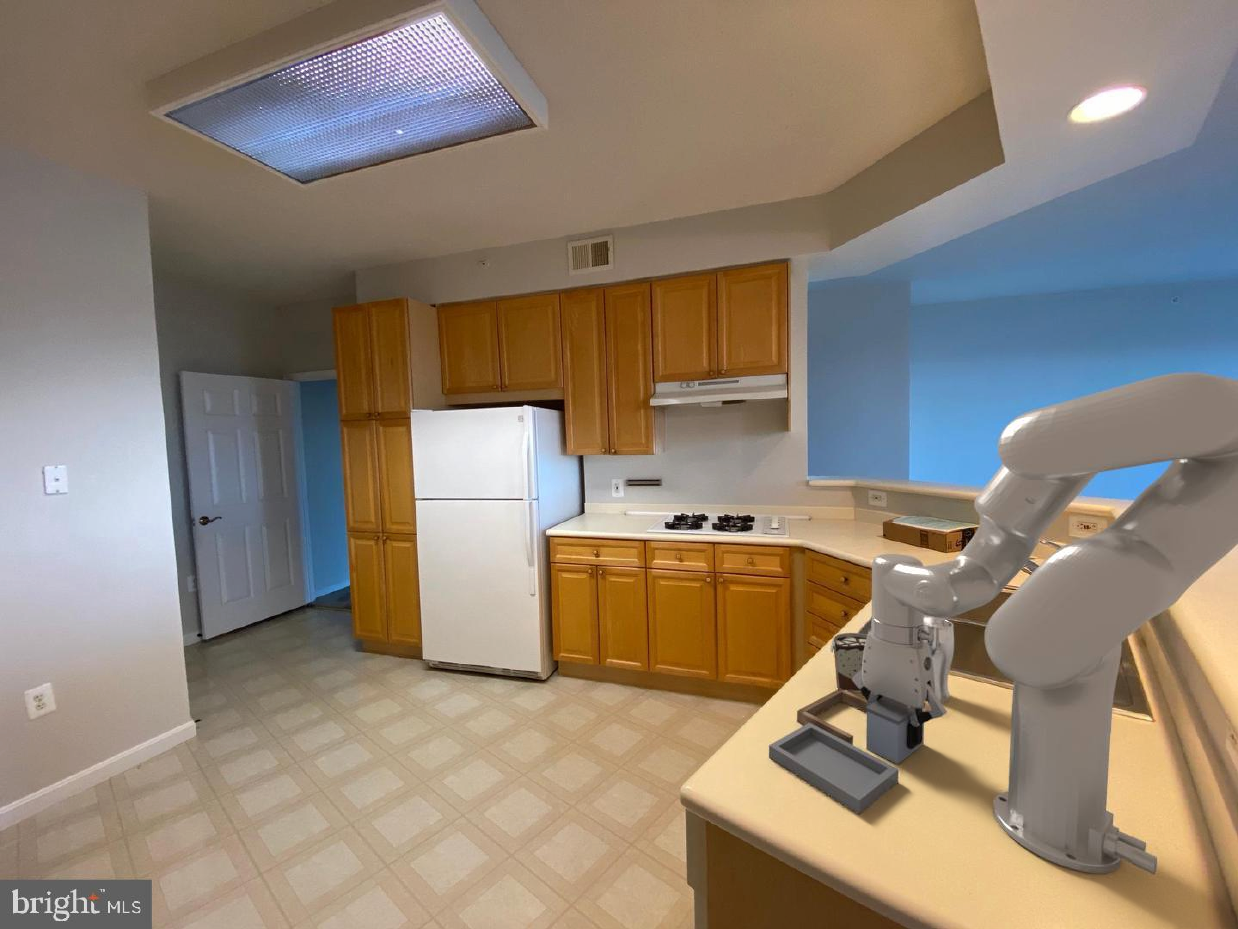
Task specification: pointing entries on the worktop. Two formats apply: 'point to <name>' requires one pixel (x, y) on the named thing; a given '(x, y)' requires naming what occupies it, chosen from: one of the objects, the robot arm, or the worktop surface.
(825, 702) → the frame
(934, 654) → the beer glass
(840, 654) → the food container
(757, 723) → the worktop surface
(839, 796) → the tray
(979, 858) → the worktop surface
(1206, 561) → the robot arm
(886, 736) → the caddy
